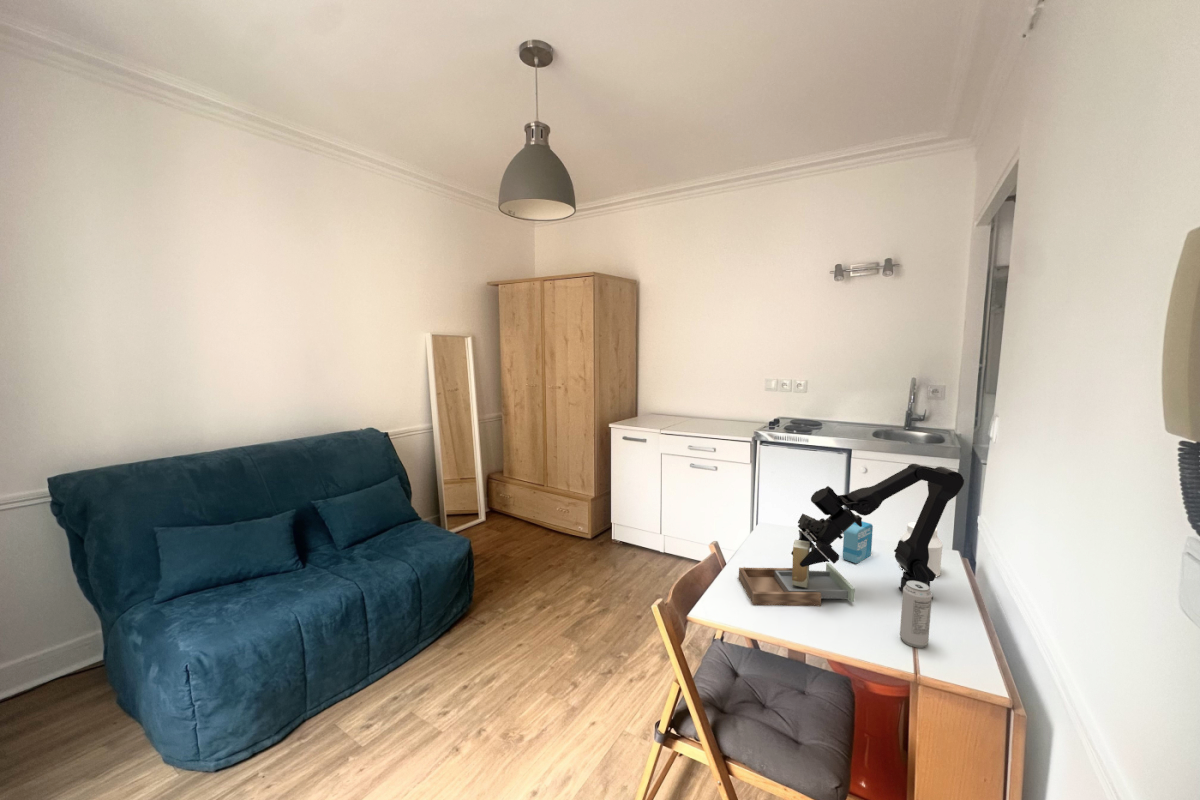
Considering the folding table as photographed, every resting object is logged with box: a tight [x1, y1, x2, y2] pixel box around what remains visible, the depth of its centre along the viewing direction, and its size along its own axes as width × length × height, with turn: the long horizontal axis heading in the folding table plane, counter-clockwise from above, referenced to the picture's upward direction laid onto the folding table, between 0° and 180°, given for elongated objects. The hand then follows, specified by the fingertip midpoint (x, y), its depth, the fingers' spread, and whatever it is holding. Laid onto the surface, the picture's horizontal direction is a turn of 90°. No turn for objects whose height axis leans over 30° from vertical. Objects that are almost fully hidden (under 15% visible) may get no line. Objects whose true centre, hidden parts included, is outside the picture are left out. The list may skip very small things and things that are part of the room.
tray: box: [774, 562, 856, 603], centre depth 147 cm, size 18×16×4 cm
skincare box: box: [791, 539, 811, 588], centre depth 146 cm, size 6×4×12 cm
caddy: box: [738, 567, 822, 607], centre depth 147 cm, size 19×16×4 cm
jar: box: [898, 521, 944, 578], centre depth 160 cm, size 12×10×15 cm
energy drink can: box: [899, 581, 933, 649], centre depth 121 cm, size 6×6×15 cm
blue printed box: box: [842, 521, 874, 564], centre depth 169 cm, size 12×4×12 cm, turn 128°
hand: (796, 560), depth 146 cm, fingers open, 7 cm apart
